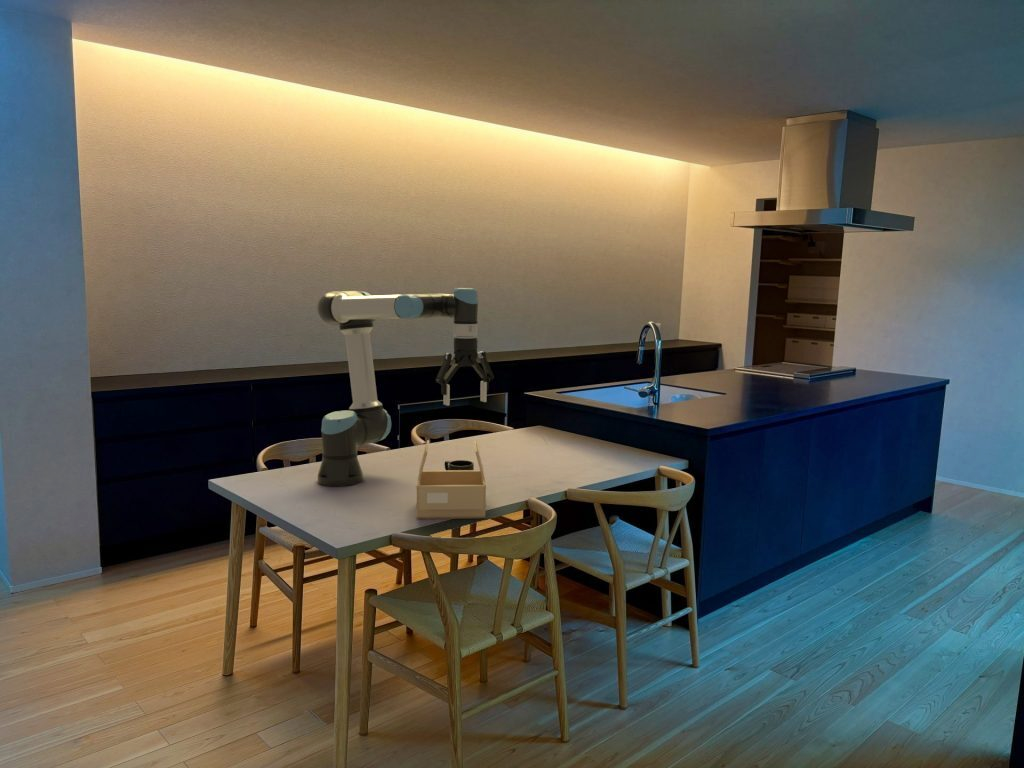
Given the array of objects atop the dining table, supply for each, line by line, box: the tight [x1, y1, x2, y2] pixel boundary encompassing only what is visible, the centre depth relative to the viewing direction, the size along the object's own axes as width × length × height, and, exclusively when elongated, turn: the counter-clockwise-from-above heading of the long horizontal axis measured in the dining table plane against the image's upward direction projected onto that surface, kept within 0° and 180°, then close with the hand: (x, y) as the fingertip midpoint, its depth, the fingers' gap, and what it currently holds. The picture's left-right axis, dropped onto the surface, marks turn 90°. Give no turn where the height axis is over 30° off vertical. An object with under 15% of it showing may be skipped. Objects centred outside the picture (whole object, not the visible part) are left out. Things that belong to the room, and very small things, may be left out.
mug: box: [443, 459, 475, 470], centre depth 243 cm, size 8×12×10 cm
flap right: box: [473, 439, 486, 481], centre depth 221 cm, size 1×15×9 cm, turn 4°
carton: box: [416, 469, 487, 520], centre depth 222 cm, size 20×18×10 cm
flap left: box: [417, 439, 430, 481], centre depth 219 cm, size 1×15×9 cm, turn 5°
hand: (465, 403), depth 235 cm, fingers open, 13 cm apart
